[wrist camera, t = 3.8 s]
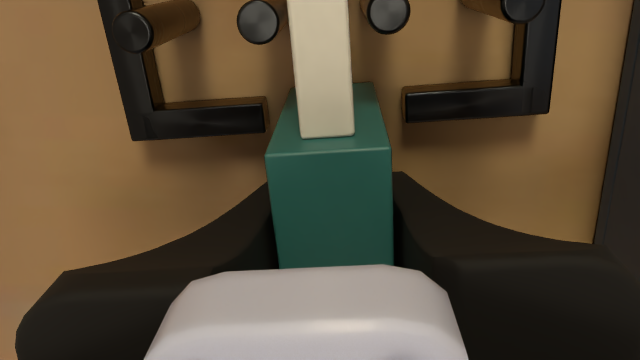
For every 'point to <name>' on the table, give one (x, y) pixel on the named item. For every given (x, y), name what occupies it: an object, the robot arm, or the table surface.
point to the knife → (329, 152)
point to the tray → (624, 164)
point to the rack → (263, 26)
